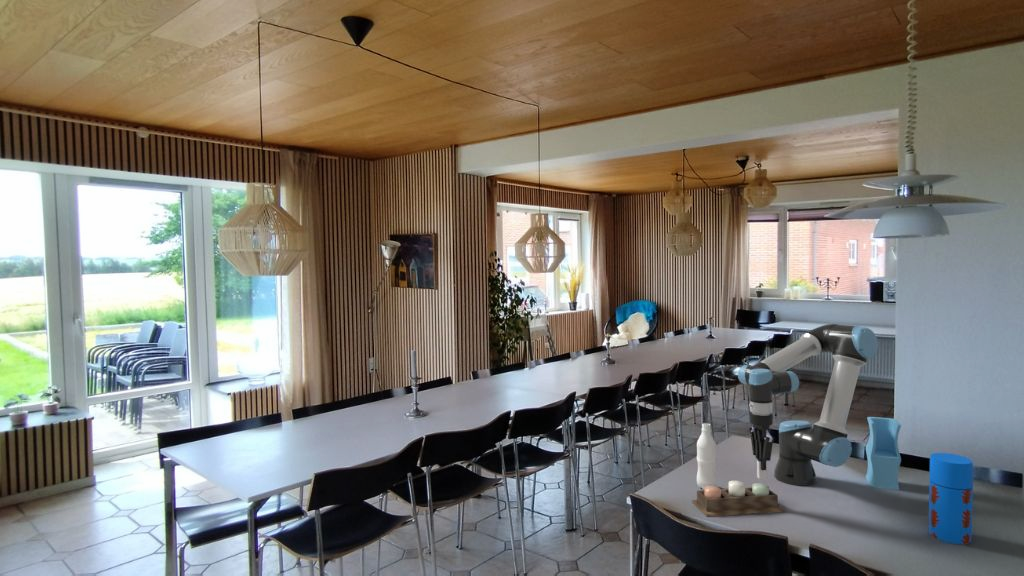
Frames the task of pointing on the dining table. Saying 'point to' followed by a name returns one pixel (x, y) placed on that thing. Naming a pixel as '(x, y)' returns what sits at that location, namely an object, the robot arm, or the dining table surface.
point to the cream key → (736, 489)
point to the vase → (883, 453)
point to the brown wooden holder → (737, 503)
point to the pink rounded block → (712, 492)
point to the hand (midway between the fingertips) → (761, 477)
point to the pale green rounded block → (760, 489)
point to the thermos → (950, 498)
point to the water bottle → (706, 458)
